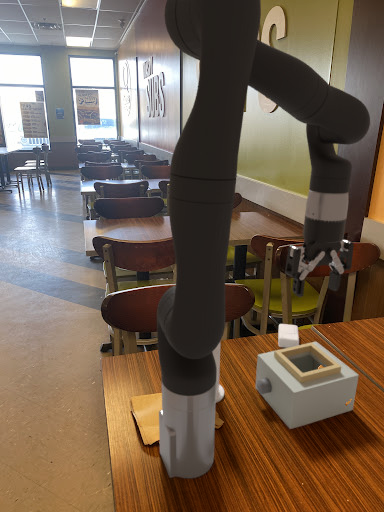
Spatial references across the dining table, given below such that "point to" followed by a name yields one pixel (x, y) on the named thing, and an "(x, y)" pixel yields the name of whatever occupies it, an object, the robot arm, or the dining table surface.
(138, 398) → the dining table surface
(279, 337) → the soap
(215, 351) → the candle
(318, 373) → the box
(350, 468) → the dining table surface
